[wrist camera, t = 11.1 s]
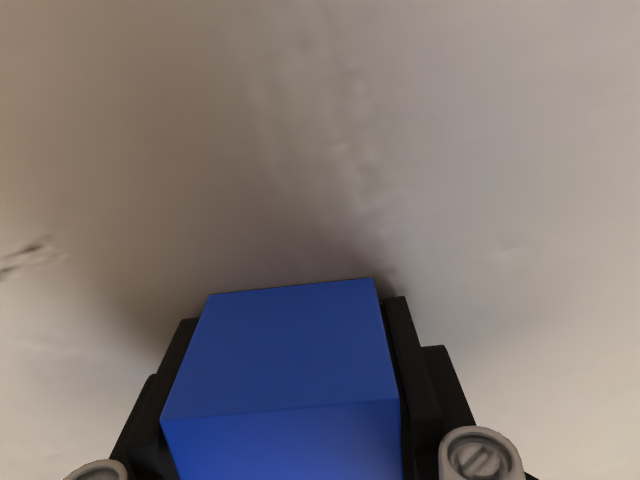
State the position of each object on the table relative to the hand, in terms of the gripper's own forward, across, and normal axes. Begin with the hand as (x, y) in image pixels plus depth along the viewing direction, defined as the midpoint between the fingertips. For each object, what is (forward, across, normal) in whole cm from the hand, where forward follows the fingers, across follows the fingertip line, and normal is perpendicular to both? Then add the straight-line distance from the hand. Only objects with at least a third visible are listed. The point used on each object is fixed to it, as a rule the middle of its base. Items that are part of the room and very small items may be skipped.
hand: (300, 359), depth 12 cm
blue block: (0, 0, 0) cm, 0 cm away
